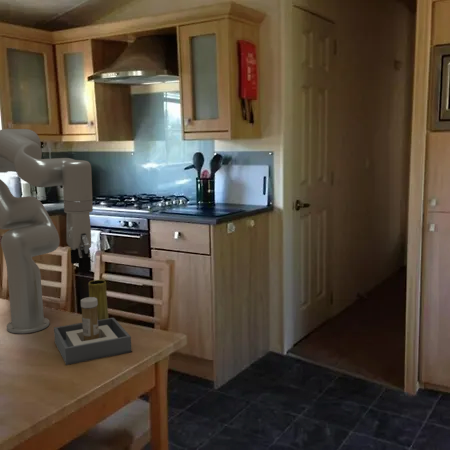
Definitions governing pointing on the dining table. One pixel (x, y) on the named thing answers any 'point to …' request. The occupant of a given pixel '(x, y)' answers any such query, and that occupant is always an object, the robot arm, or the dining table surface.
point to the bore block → (78, 339)
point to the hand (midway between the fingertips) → (80, 267)
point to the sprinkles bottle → (90, 318)
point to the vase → (99, 297)
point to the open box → (95, 348)
